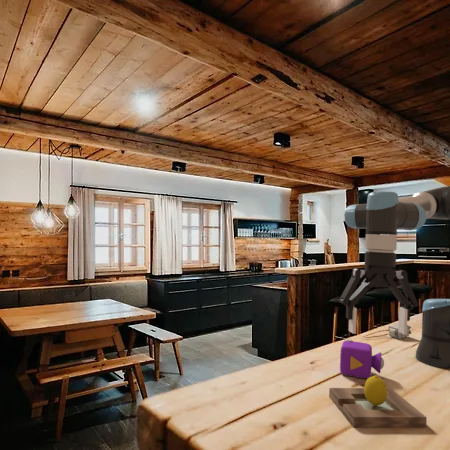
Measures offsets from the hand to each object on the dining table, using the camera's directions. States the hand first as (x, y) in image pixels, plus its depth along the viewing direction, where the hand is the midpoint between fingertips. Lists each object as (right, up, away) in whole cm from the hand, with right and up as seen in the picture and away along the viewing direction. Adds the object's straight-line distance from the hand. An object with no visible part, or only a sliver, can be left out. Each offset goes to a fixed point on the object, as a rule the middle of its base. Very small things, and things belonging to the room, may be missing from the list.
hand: (377, 332), depth 96 cm
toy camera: (+5, -21, +25) cm, 33 cm away
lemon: (-1, -19, 0) cm, 19 cm away
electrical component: (+33, -23, +70) cm, 80 cm away
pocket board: (-1, -20, 0) cm, 20 cm away
